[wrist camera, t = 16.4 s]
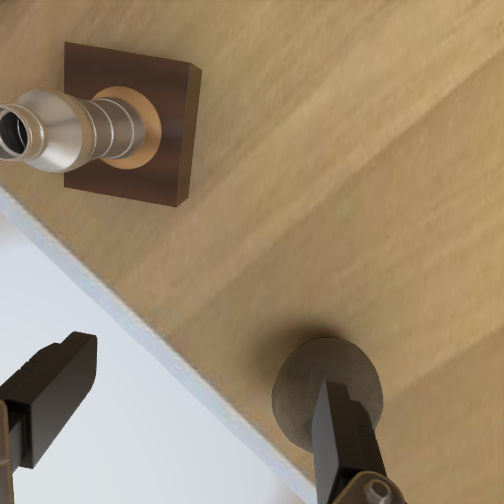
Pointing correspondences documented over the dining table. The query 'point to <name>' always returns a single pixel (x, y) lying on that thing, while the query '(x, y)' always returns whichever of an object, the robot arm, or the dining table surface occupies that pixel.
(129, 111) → the metal bottle
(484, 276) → the dining table surface
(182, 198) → the walnut box
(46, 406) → the robot arm
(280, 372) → the cantaloupe
